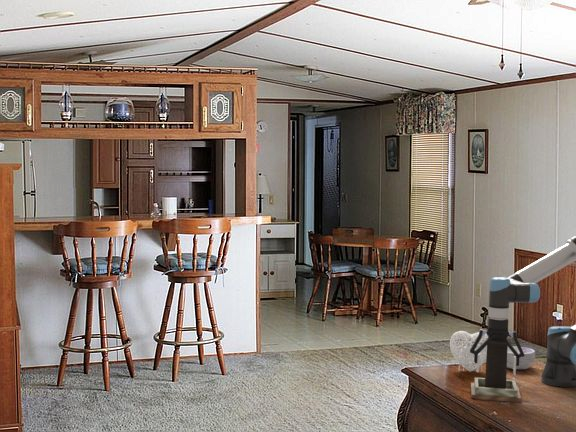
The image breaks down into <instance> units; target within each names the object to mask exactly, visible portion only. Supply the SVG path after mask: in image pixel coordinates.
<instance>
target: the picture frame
mask: <svg viewBox="0 0 576 432" xmlns="http://www.w3.org/2000/svg"><path fill="white" fill-rule="evenodd" d="M470 391H471V392H470V394H471V395H470V396H471V398H474V399H475V400H484V401H498V402H510V403H511V402H513V403H522V397H521V393H520V389H519V386H518V385H517V383H516V380H512V379H506V389H500V388H487V387H485V377H474V382H470ZM474 399H473V400H474Z"/></svg>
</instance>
